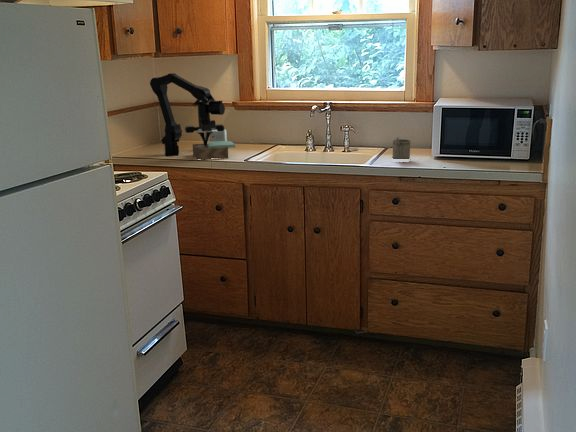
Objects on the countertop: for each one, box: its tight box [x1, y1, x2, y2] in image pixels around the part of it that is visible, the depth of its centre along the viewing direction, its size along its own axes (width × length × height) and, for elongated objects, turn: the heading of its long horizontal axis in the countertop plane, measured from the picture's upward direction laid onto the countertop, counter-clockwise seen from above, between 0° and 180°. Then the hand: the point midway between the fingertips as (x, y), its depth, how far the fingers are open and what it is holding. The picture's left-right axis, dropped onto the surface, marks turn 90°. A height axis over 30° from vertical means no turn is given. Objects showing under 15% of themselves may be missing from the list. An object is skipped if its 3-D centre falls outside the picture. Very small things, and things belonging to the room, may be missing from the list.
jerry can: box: [391, 137, 412, 159], centre depth 294 cm, size 14×10×12 cm
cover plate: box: [206, 140, 236, 149], centre depth 314 cm, size 13×13×2 cm
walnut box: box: [192, 143, 229, 160], centre depth 314 cm, size 15×16×6 cm
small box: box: [209, 129, 228, 142], centre depth 333 cm, size 8×6×10 cm
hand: (205, 145), depth 312 cm, fingers closed
